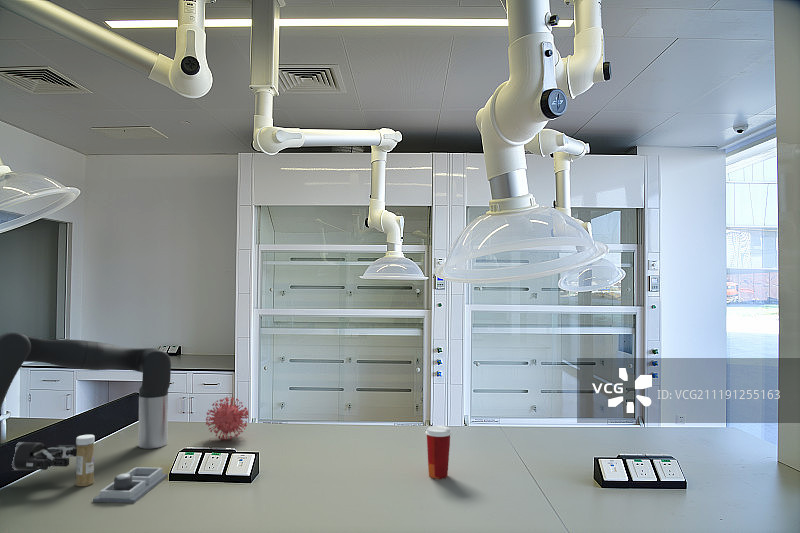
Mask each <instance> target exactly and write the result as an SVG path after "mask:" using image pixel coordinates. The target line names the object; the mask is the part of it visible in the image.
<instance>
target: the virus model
mask: <svg viewBox="0 0 800 533" xmlns="http://www.w3.org/2000/svg"><path fill="white" fill-rule="evenodd" d="M234 400H235V402H234ZM229 401H230V403H229ZM219 402H220V403H219ZM238 402H239V403H238ZM237 404H238V405H237ZM211 406H212V409H210V410H209V408H208V410H207V411H208V412H206V415H207V416H206V418H205V421H206V422H205V425H206V426H207V427H209V428H208V431H209V432H210V433H212V431H213V432H214V433H215V435H214V436H215V437H216V438H217V439H220V440H228V439H227V438H228V436H229V440H232V439H233V435H231V434H232V433H234V436H235V437H236V438H237V437H238V436H239V435H241V433H244V430H246V428H247V426H248V424H247V423H248V421H247V420H246V421H245V420H243V419H249V416H250V415H249V410H248V408H247V406H245V407H244V404H243V402H242V401H240V400H239V399H238V398H236V399H235V397H230V399H229V397H227V396H226V397H224V398H222V399H218V400H216V401H214V402H213V403H212V405H211ZM243 407H244V408H243ZM241 408H243V409H241ZM212 425H213V426H212ZM210 426H212V427H210ZM243 429H244V430H243ZM219 432H220V434H219V436H218V433H219ZM225 438H226V439H225Z"/></svg>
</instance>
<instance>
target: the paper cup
mask: <svg viewBox="0 0 800 533" xmlns="http://www.w3.org/2000/svg"><path fill="white" fill-rule="evenodd" d="M424 433H425V434H426V445H427V446H426V448H427V450H426V451H427V467H428V469H427V470H428V477H429V478H431V479H434V478H436V479H437V480H442V478H443V479H446V478H447V477H448V474H449V462H450V461H449V459H450V449H451V448H450V447H451V435H452V431H451V428H449V426H444V425H431V426H428V427H427V428H426V431H425V432H424ZM436 479H435V480H436Z"/></svg>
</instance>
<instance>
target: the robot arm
mask: <svg viewBox="0 0 800 533" xmlns="http://www.w3.org/2000/svg"><path fill="white" fill-rule="evenodd" d="M26 362H27V363H45V364H49V365H55V366H59V367H62V368H69V369H76V370H85V371H109V370H128V371H133V372H134V371H135V372H139V373H142V379H141V380H142V382H141V386H140V387H139V390H138V436H137V437H138V438H137V439H138V440H137V442H138V444H137V445H138V446H137V447H139V448H141V449H149V450H150V449H157V448H161V447H165V446H166V445H167V444H168V426H169V425H168V416H169V415H168V414H169V412H168V411H169V403H168V402H169V389H170V384H171V375H172V374H171V373H172V372H171V371H172V361H171V357H170V355H169V354H168V352H166V351H164V350H162V349H158V348H155V347H140V348H139V347H123V346H119V345H115V344H110V343H105V342H100V341H91V340H85V339H84V340H82V339H49V338H47V339H46V338H39V337H34V336H29V335H25V334H23V333H20V332H11V331H10V332H5V333H2V334H0V410H1V409H2V406H3V404H4V401H5V399H6V396H7V394H8V392H9V389H10V386H11V385H12V383H13V380H14V379H15V377H16V375H17V373H18V372H19V370H20V368H21V367H22V366H23V363H26ZM17 442H18V441H17ZM4 443H5V442H0V444H4ZM76 455H77V444H57V445H56V446H55V447H53V446H52V447H48V448H46V446H45V444H44V443H42V442H33V441H32V442H29V441H28V442H27V441H26V442H24V441H19V442H18V443H17V444H16V447H15V454H14V457H13V461H12V464H11V465H12V468H13V469H14V470H13V471H36V470H43V471H46V470H48V469H49V468H55V467H63V468H65V467H68V466H69V465H70V458H71V457H76Z"/></svg>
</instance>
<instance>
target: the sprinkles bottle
mask: <svg viewBox="0 0 800 533" xmlns="http://www.w3.org/2000/svg"><path fill="white" fill-rule="evenodd" d="M95 440H96V439H95V435H94V434H83V435H78V436H77V437H76V439H75V445H77V455H76V459H75V461H76V462H75V465H76V466H75V468H76V469H75V473H76V474H75V475H76V480H75V481H76V482H75V485H76V486H77V487H88V486H90V485H92V484H94V483H95V482H94V470H95V465H94V464H95V459H94V458H95V454H94V453H95V451H94V450H95V448H94V447H95V446H94V445H95Z"/></svg>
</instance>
